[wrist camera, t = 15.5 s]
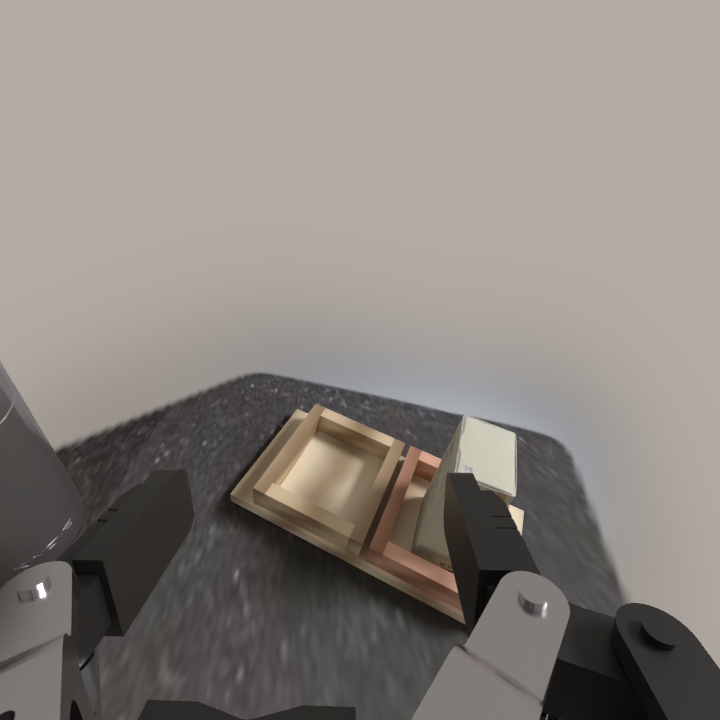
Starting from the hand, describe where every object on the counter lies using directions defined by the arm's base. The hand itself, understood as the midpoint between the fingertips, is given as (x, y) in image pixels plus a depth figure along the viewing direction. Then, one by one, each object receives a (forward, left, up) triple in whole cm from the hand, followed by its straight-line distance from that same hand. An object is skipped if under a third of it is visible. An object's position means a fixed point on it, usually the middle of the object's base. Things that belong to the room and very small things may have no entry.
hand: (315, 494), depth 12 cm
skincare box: (+7, +14, -23) cm, 28 cm away
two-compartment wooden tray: (+2, +15, -24) cm, 28 cm away
